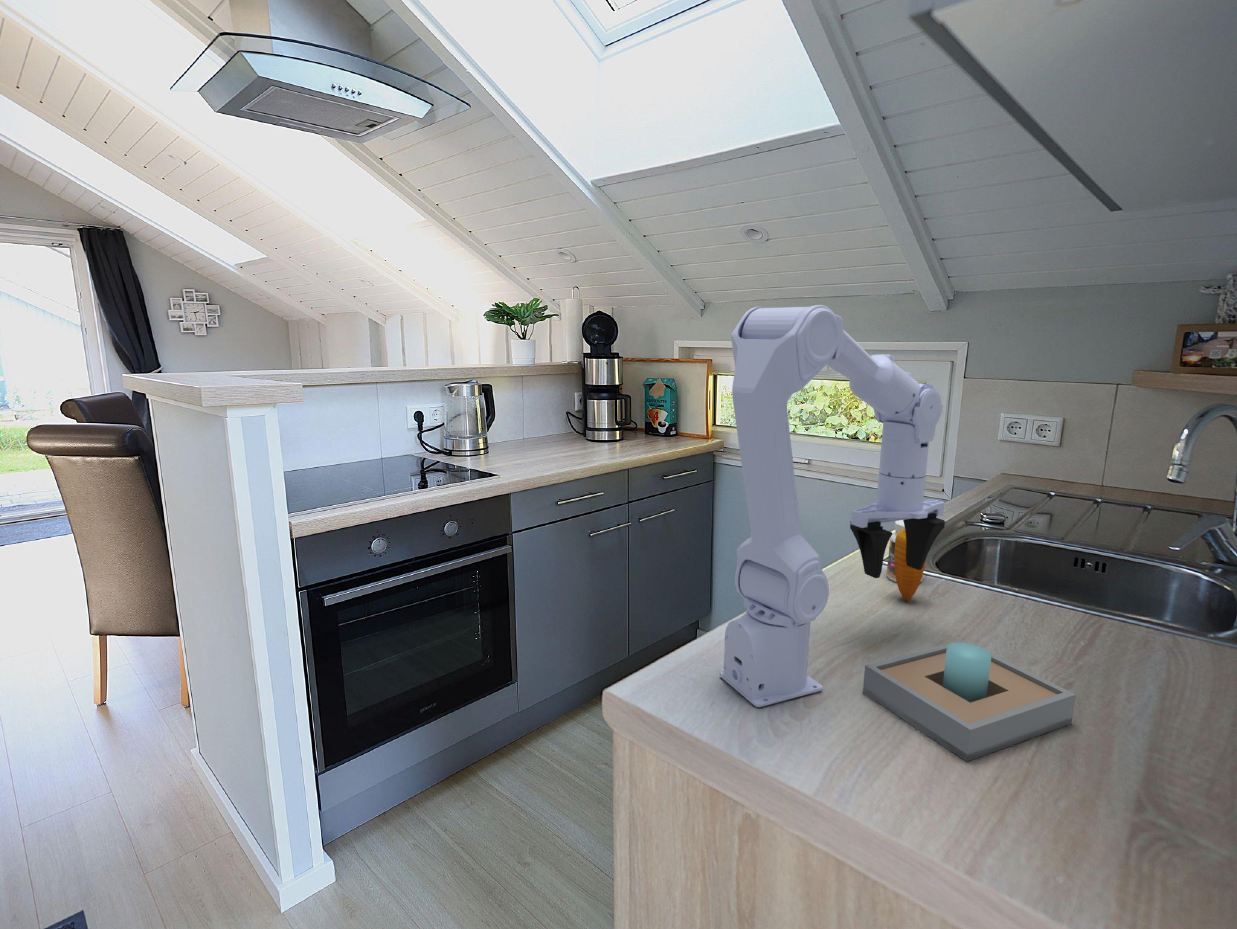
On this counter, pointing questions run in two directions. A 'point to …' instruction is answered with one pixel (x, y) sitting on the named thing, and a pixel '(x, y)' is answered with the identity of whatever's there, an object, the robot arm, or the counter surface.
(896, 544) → the carrot
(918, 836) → the counter surface
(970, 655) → the teal peg
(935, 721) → the bore box
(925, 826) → the counter surface
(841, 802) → the counter surface
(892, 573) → the pill bottle
